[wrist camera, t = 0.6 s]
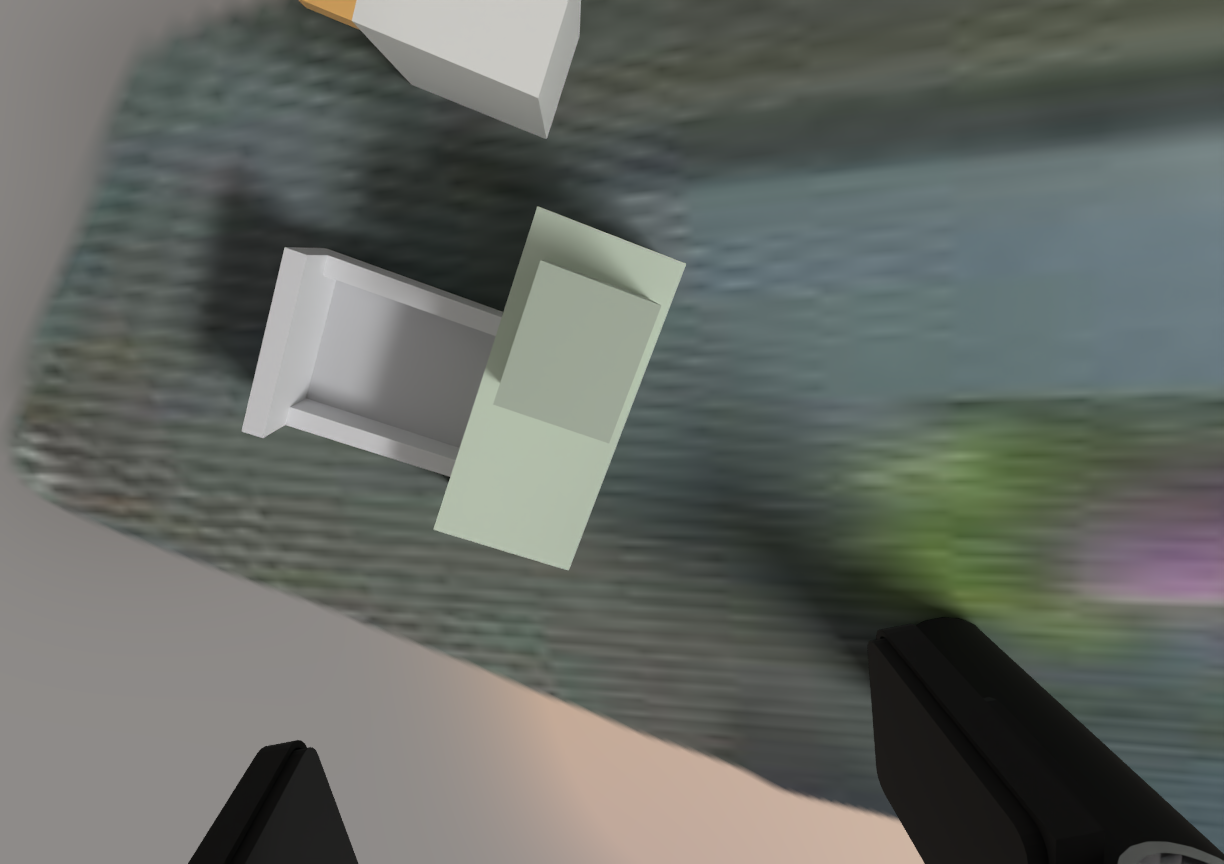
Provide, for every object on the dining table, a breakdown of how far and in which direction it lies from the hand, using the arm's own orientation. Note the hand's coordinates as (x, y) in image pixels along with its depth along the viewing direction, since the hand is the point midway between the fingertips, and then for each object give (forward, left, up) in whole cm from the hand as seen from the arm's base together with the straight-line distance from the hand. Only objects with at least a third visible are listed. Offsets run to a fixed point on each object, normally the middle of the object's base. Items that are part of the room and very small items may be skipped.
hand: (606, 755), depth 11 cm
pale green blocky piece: (-1, -6, -27) cm, 27 cm away
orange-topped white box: (-15, -10, -27) cm, 32 cm away
